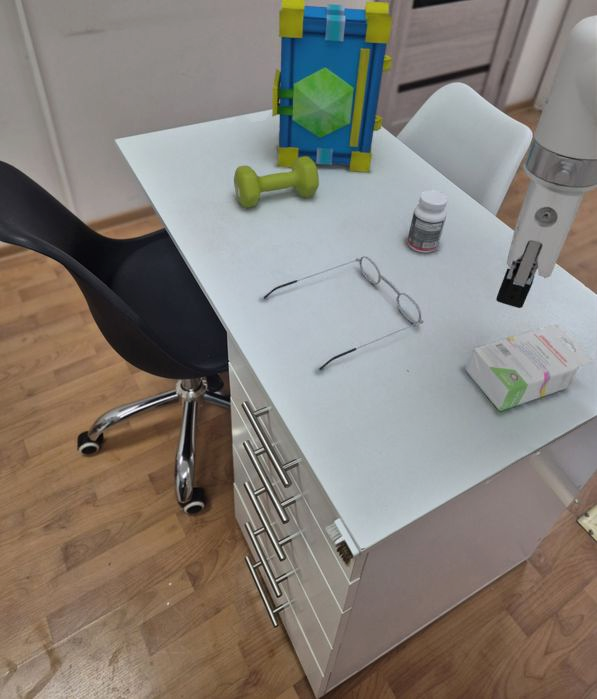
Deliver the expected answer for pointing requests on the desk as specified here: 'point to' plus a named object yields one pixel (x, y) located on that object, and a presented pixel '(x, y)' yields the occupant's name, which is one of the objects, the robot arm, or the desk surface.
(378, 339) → the eyeglasses
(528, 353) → the ink box
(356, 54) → the decorative book
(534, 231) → the robot arm
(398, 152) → the desk surface
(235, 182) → the dumbbell
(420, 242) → the pill bottle
